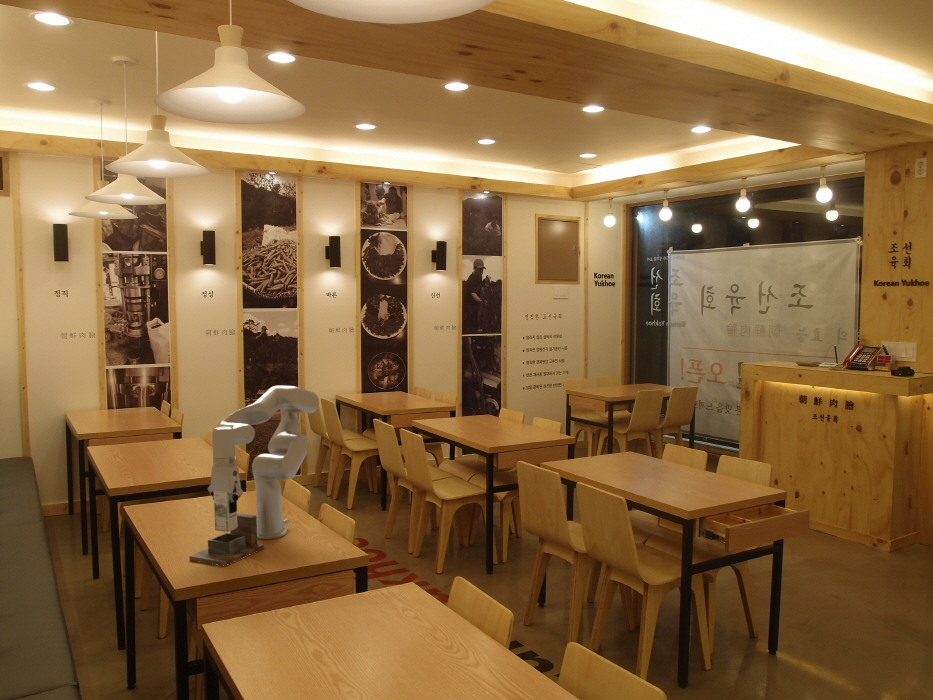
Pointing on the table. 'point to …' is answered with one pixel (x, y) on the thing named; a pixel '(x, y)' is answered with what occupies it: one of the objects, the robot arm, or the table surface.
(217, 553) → the post bracket stand
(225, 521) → the syrup box
